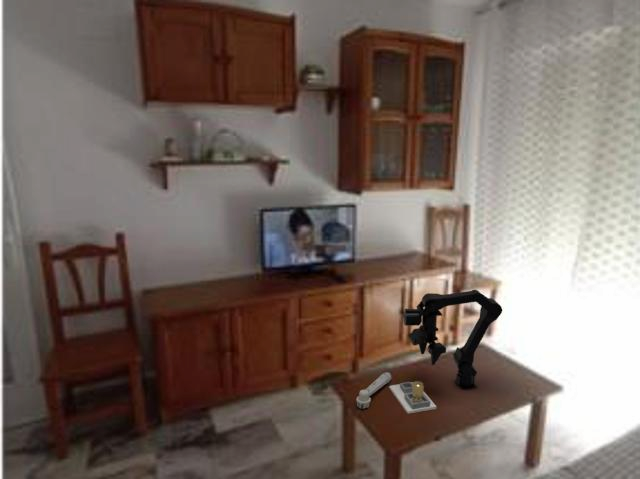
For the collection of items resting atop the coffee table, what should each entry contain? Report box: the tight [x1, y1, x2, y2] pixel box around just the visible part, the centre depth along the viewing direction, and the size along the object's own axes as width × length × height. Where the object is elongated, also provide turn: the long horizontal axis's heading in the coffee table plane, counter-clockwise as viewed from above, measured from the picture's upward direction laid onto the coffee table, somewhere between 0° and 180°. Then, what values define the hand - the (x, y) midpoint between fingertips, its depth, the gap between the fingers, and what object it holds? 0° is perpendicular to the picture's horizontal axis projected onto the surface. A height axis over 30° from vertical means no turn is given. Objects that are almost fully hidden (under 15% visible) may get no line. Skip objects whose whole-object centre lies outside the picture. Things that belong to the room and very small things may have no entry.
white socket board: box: [388, 381, 437, 415], centre depth 178 cm, size 12×18×3 cm, turn 14°
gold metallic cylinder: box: [412, 380, 425, 403], centre depth 172 cm, size 4×4×8 cm
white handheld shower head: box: [355, 371, 393, 410], centre depth 181 cm, size 5×7×25 cm
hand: (427, 359), depth 184 cm, fingers open, 9 cm apart
